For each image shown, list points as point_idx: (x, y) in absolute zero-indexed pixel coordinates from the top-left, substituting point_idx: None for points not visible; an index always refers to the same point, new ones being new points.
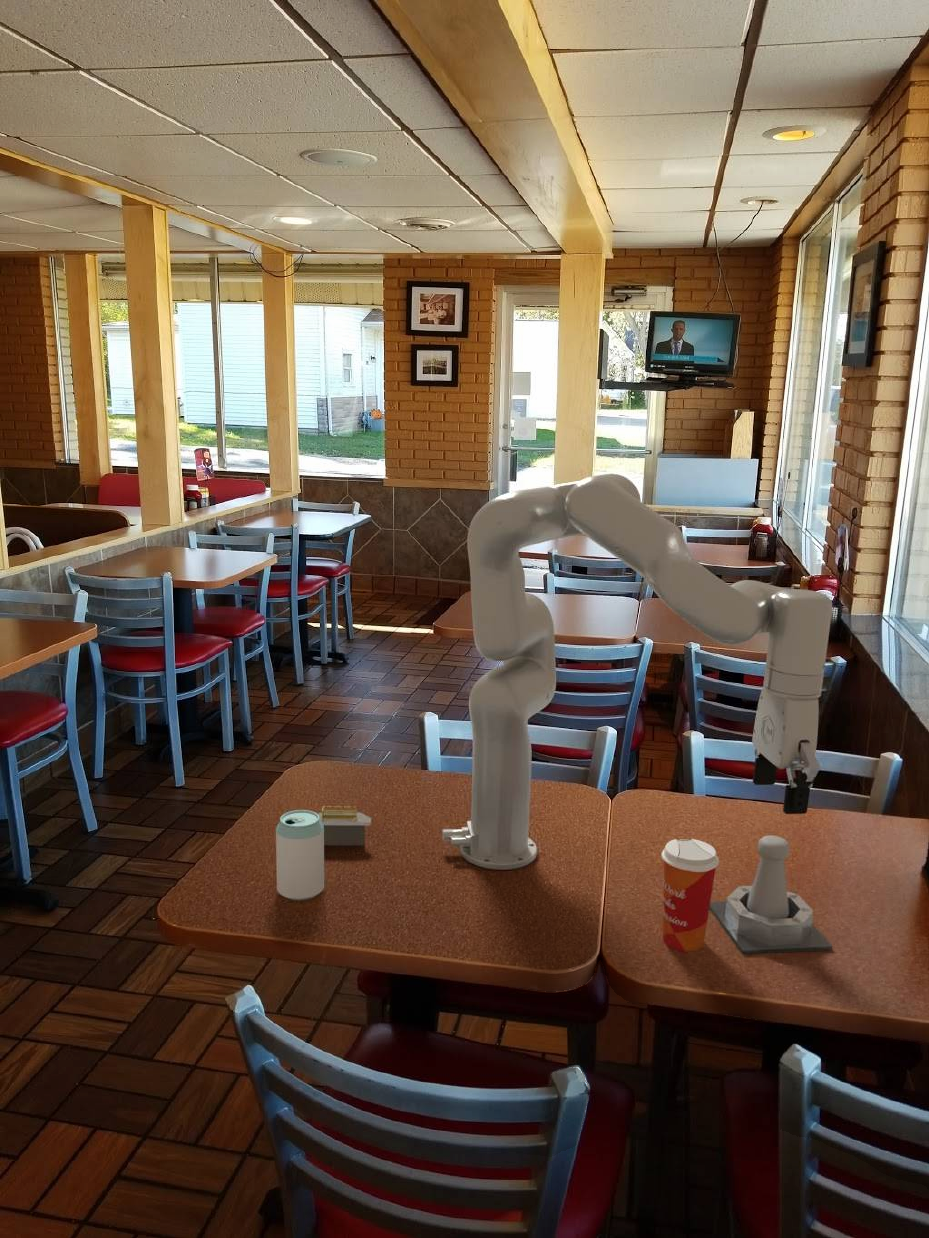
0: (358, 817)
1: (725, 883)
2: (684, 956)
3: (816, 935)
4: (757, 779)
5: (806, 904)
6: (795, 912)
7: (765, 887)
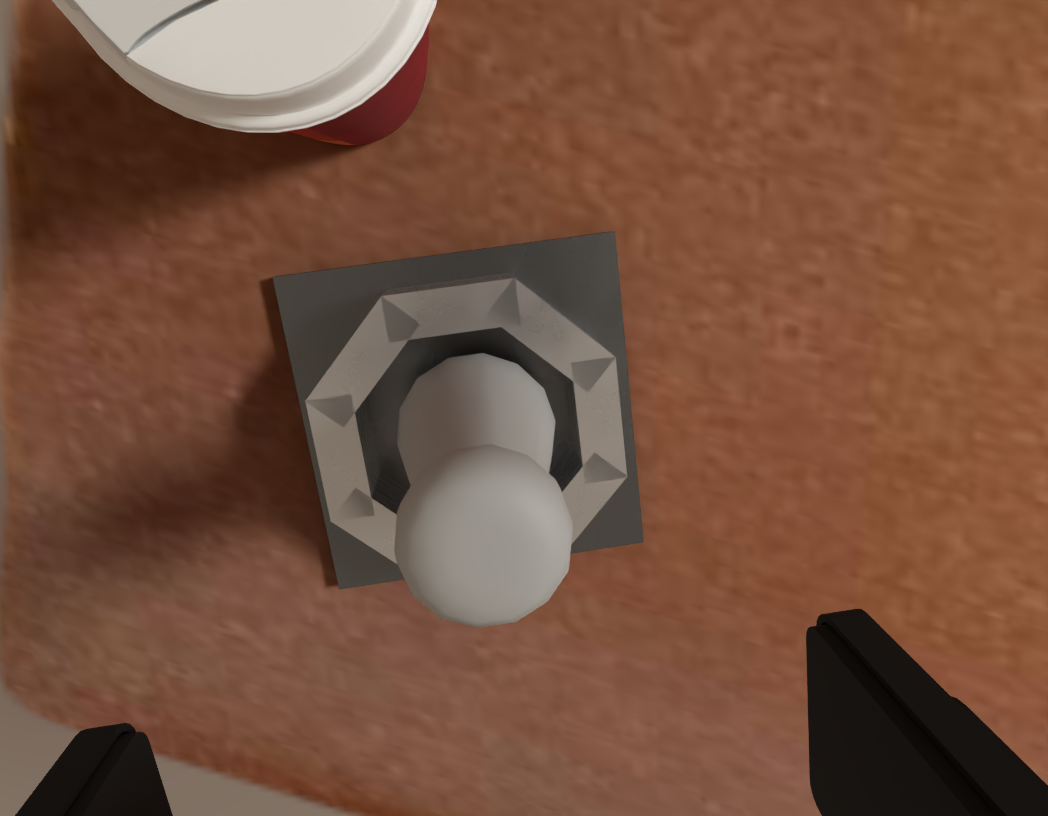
0: None
1: (778, 346)
2: None
3: None
4: (832, 669)
5: None
6: None
7: (422, 430)
